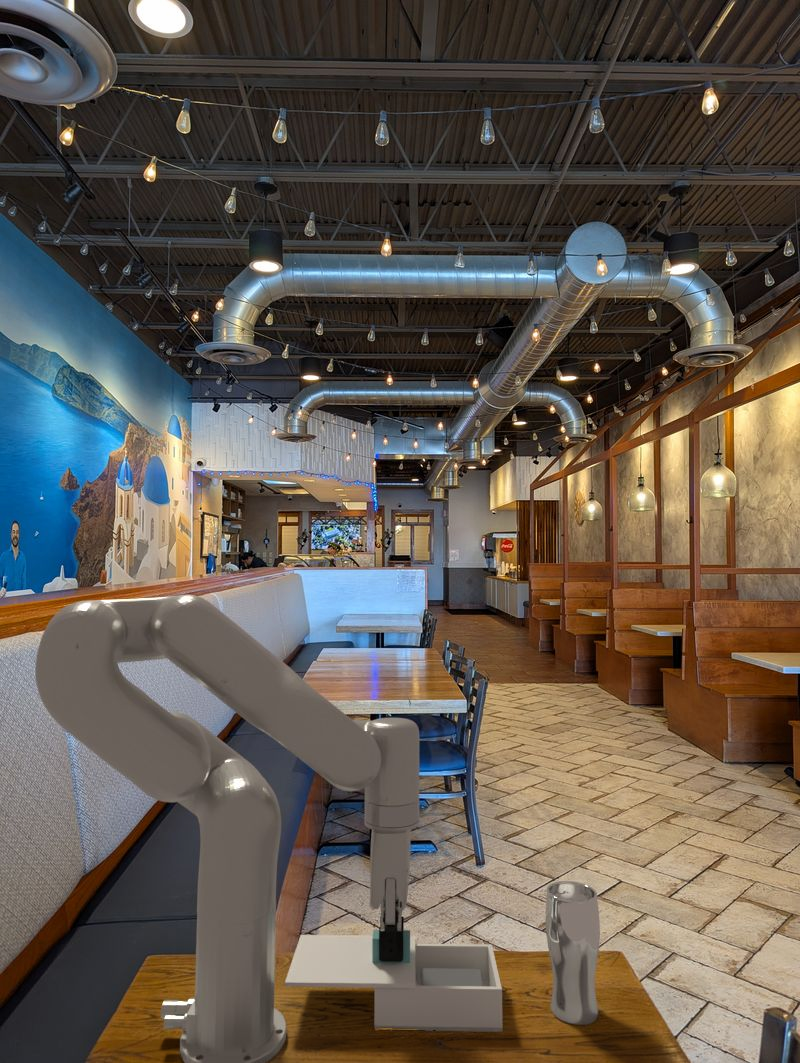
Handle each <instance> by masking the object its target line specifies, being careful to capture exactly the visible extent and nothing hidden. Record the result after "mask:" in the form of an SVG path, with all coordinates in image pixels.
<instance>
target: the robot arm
mask: <svg viewBox="0 0 800 1063" xmlns="http://www.w3.org/2000/svg"><path fill="white" fill-rule="evenodd" d="M164 659H167V660H168V661H170V662H171V663H172V664H173V665H175V666H176V667H177V668H179V669H180V670H181V671H182V672H184V673H185V674H187V675H188V676H189V677H190V678H191V679H193V680H195V682H196V683H198V684H200V685H201V686H202V687H203V688H205V690H207V691H208V692H209V693H211V694H212V695H213V696H215V697H216V698H217V699H218V700H220V701H221V702H222V703H224V704H225V705H226V706H227V707H229V708H230V709H231V710H232V711H233V712H235V713H236V714H237V715H239V716H240V717H241V718H243V719H244V720H245V721H246V722H248V723H249V724H250V725H252V726H253V727H255V728H256V729H258V730H259V731H261V732H263V733H264V734H266V735H268V736H269V737H270V738H272V739H273V740H274V741H276V742H277V743H279V744H280V745H281V746H282V747H284V748H285V749H287V750H288V751H289V752H290V753H292V754H293V755H294V756H295V757H297V758H298V759H299V760H301V761H302V762H303V763H304V764H305V765H307V766H308V767H309V768H311V769H312V770H313V771H315V773H317V774H318V775H320V776H321V777H322V778H323V779H325V781H327V782H328V783H329V784H331V785H332V786H333V787H335V788H337V789H338V790H341V791H343V792H356V791H357V792H359V791H362V790H364V825H365V827H366V828H368V829H370V830H371V834H370V836H371V838H370V863H369V864H370V866H369V867H370V869H369V870H370V872H369V873H370V874H369V876H370V877H369V878H370V882H369V908H370V910H372V911H375V910H378V909H379V908H380V916H379V917H380V918H379V919H380V920H379V921H380V922H379V927H378V928H379V929H378V930H379V960H380V961H381V962H402V961H403V930H404V927H405V925H404V924H405V922H404V916H403V911H404V910H405V909H406V907H407V904H408V903H407V902H408V894H409V884H410V871H411V870H410V869H411V868H410V867H411V832H412V831H411V830H414V829H416V828H417V827H419V825H420V730H419V726H418V725H417V723H416V722H414V720H411V719H409V718H404V717H403V718H401V717H381V718H376V719H373V720H360V719H352V718H350V717H349V716H348V715H347V714H346V713H344V712H343V711H342V710H341V709H339V708H338V707H337V706H336V705H334V704H333V703H332V702H331V701H329V699H327V698H325V697H324V696H323V695H322V694H321V693H319V692H318V691H317V690H316V689H314V688H313V687H312V686H311V685H310V684H308V683H307V682H306V681H305V680H304V679H303V678H302V677H301V676H300V675H299V674H298V673H296V672H295V670H293V668H291V667H290V666H289V665H287V664H286V663H285V662H283V661H282V660H281V659H280V658H279V657H278V656H277V655H275V654H274V653H273V652H271V651H270V650H269V649H268V648H267V647H265V646H264V645H262V643H261V642H259V641H258V640H257V639H255V638H254V637H253V636H251V635H250V634H249V633H248V632H247V631H245V630H244V629H243V628H242V627H241V626H239V625H238V624H237V623H236V622H235V621H233V620H232V619H231V618H230V617H229V616H227V615H226V614H225V613H223V611H221V610H220V609H219V608H218V607H216V606H215V605H214V604H212V603H211V602H210V601H208V600H206V599H205V598H203V597H201V596H198V595H195V594H178V595H169V596H160V597H147V598H145V597H144V598H127V599H126V598H124V599H119V598H118V599H100V600H99V599H98V600H97V599H96V600H95V599H93V600H92V599H91V600H89V599H88V600H81V601H77V602H73V603H70V604H68V605H66V606H64V607H63V608H61V609H60V610H58V611H57V612H56V614H55V615H54V616H53V617H52V618H51V619H50V620H49V622H48V624H47V626H46V627H45V629H44V631H43V634H42V635H41V638H40V642H39V645H38V649H37V653H36V659H35V661H36V662H35V668H34V670H35V672H34V673H35V674H34V675H35V682H36V687H37V690H38V694H39V697H40V700H41V701H42V704H43V707H44V708H45V709H46V710H47V712H48V714H49V715H50V716H51V717H52V718H53V720H54V721H55V722H56V723H57V724H58V725H59V726H60V727H62V728H63V729H64V730H65V732H67V733H68V734H70V735H71V736H72V737H73V738H74V739H75V740H77V741H79V742H80V743H81V744H82V745H83V746H85V747H86V748H87V749H89V750H90V751H91V752H93V753H94V754H95V755H96V756H97V757H98V758H100V759H101V760H102V761H103V762H105V763H106V764H107V765H108V766H111V768H113V769H114V770H116V771H117V772H118V773H119V774H121V775H122V776H123V777H124V778H126V779H127V780H128V781H130V782H131V783H132V784H133V785H135V786H136V787H137V788H138V789H140V790H141V791H142V792H143V793H144V794H145V795H147V796H149V797H150V798H152V799H154V800H157V801H159V802H164V803H178V804H180V805H181V806H182V807H184V808H185V809H187V810H188V811H190V813H192V814H193V815H195V816H196V817H197V820H198V824H199V833H200V835H199V836H200V849H199V850H200V851H199V861H198V863H199V864H198V878H197V896H196V898H197V900H196V901H197V902H196V914H197V915H196V916H197V918H196V944H195V945H196V947H195V948H196V949H195V955H196V956H195V983H194V984H195V985H194V997H189V998H188V1000H179V999H164V1000H163V1002H162V1005H161V1008H160V1019H163V1029H164V1030H175V1029H182V1032H181V1035H180V1039H179V1053H180V1057H181V1059H182V1061H183V1062H184V1063H267V1062H269V1061H270V1060H272V1059H273V1058H274V1057H275V1056H276V1055H277V1054H278V1053H279V1052H280V1050H281V1049H282V1048H283V1046H284V1045H285V1041H286V1039H287V1021H286V1019H285V1017H284V1015H283V1014H282V1012H281V1011H279V1010H278V1009H277V1008H275V981H276V980H275V979H276V978H275V977H276V976H275V975H276V973H275V972H276V971H275V970H276V929H277V926H276V923H277V922H276V921H277V919H276V918H277V917H276V916H277V913H276V912H277V874H278V872H277V871H278V858H279V857H278V856H279V849H280V842H281V834H282V815H281V814H282V813H281V808H280V803H279V801H278V797H277V796H276V793H275V792H274V790H273V788H272V787H271V785H270V784H269V783H268V781H267V780H266V778H265V777H263V775H262V774H261V773H260V771H259V770H258V769H257V768H256V767H255V766H254V765H253V764H252V763H251V762H250V761H248V760H247V759H246V758H244V756H242V755H241V754H239V753H238V752H237V751H236V750H234V749H233V748H232V747H230V746H229V745H228V744H227V743H226V742H224V741H223V740H221V739H220V738H219V737H218V736H216V735H215V734H214V733H213V732H211V731H210V730H209V729H208V728H206V727H205V726H204V725H203V724H201V723H200V722H198V721H197V720H196V719H194V718H193V717H191V716H190V715H187V714H185V713H182V712H178V711H168V710H167V709H165V708H164V707H163V706H161V705H160V704H159V703H158V702H156V701H155V700H153V699H152V698H151V697H150V696H149V695H148V694H147V693H146V692H145V691H143V690H142V689H141V688H139V687H138V686H137V685H136V684H134V683H132V682H131V681H130V680H129V679H127V677H126V676H124V675H123V673H122V671H121V670H120V667H119V664H121V663H131V662H143V661H154V660H155V661H156V660H164Z"/></svg>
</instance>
